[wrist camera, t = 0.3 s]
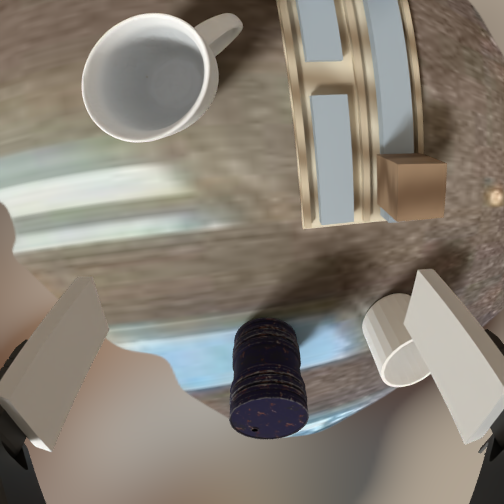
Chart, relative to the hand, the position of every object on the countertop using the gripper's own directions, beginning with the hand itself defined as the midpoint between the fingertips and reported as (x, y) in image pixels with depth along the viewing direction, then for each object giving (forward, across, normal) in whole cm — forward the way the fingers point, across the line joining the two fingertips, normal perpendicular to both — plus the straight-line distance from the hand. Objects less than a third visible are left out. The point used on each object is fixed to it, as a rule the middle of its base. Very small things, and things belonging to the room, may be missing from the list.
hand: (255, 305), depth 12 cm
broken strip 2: (+26, +9, +1) cm, 28 cm away
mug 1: (+28, -8, +11) cm, 31 cm away
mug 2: (+27, +22, -22) cm, 42 cm away
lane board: (+27, +12, +10) cm, 32 cm away
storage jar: (+27, +1, -26) cm, 38 cm away
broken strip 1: (+26, +7, +18) cm, 33 cm away
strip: (+26, +16, +9) cm, 32 cm away
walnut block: (+25, +17, 0) cm, 30 cm away
